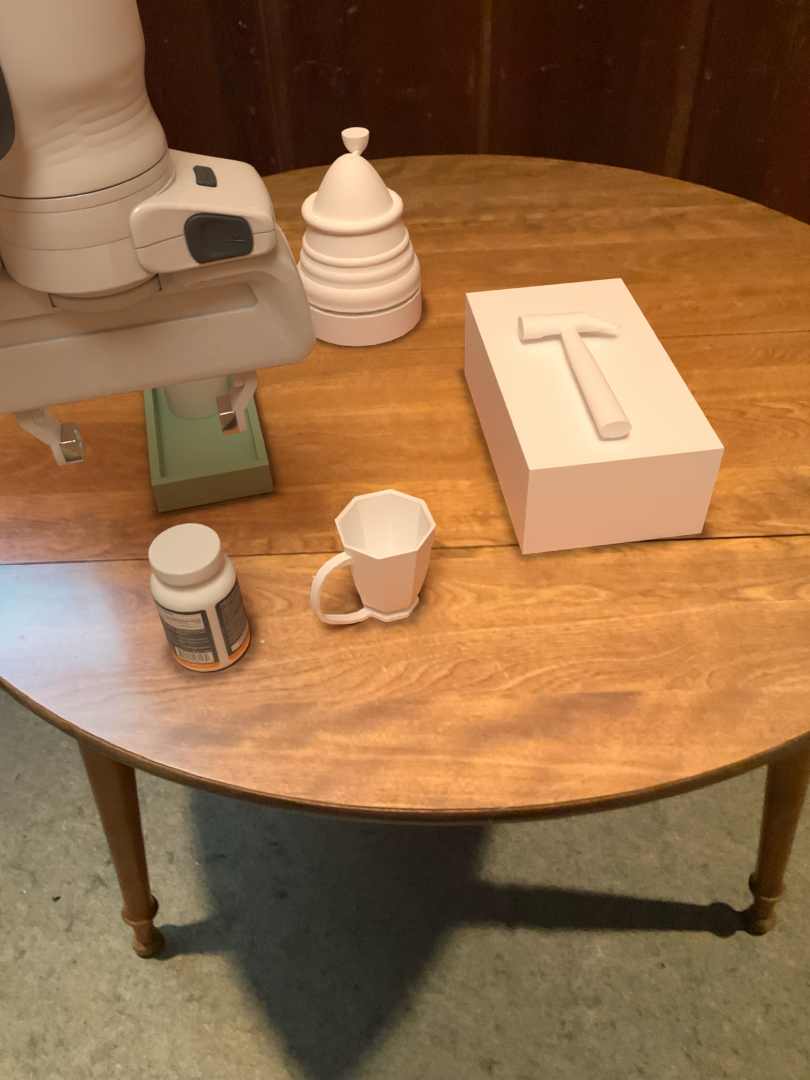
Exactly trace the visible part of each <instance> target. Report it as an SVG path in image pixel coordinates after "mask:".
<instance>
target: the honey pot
mask: <svg viewBox="0 0 810 1080" xmlns="http://www.w3.org/2000/svg"><path fill="white" fill-rule="evenodd" d="M341 139H342V141H343V144H344V147H345V148H346V150H347V151H348V152H349V153H345V154H343V155H341V156H339V157H337V158H336V159H335V160H334V161H333V163H332V164H331V165H330V167H329V168H328V169H327V171H326V173H325V175H324V177H323V179H322V181H321V182H320V185H319V187H318V190H316V191H315V192H313V193H311V194H310V195H308V197H307V198H305V199H304V201H303V203H302V205H301V208H300V211H301V213H300V214H301V217H302V219H303V221H304V222H305V223H306V224H307V226H306V229H305V232H304V233H303V236H302V238H301V249H300V251H299V260H298V262H297V263H296V265H297V268H298V270H299V273H300V276H301V280H302V283H303V286H304V289H305V292H306V296H307V299H308V302H309V306H310V310H311V314H312V318H313V323H314V328H315V333H316V339H318V340H321V341H323V342H325V343H328V344H333V345H337V346H338V345H339V346H347V347H367V346H375V345H379V344H383V343H389V342H391V341H393V340H396V339H398V338H401V337H403V336H404V335H406V334H407V333H409V332H411V331H412V330H413V329H414V328H415V327H416V325H417V324H418V323H419V322H420V320H421V316H422V313H423V312H422V311H423V307H422V282H421V281H422V277H421V272H422V269H421V265H420V260H419V257H418V255H417V254H416V252H415V249H414V246H413V242H412V241H411V237H410V233H409V229H408V228H407V227H406V225H405V224H404V222H403V220H402V217H401V216H402V214H403V211H404V208H405V207H404V203H403V199H402V197H401V196H400V195H399V194H398V193H397V192H396V191H394V190H392V189H390V188H389V187H387V185H386V184H385V182H384V180H383V178H382V177H381V175H380V174H379V173H378V171H377V170H376V169H375V168H374V166H373V165H372V164H371V163H370V162H369V161H368V160H367V159H365V158H364V157H363V156H361V155H362V154H363V152H364V151H365V150H366V148H367V146H368V143H369V139H370V131H369V130H368V129H367V128H365V127H358V126H357V127H356V126H355V127H349V128H346V129H343V130H342V131H341Z"/></svg>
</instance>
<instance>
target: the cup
mask: <svg viewBox="0 0 810 1080" xmlns="http://www.w3.org/2000/svg"><path fill="white" fill-rule="evenodd" d="M334 523H335V526H336V529H337V533H338V536H339V539H340V542H341V546H342V548H343V552H340V553H338V554H336V555H334V556H333V557H332V558H330V559H328V560H327V561H326V562H324V564H323V565H322V566H321V567H319V569H318V571H317V572H316V575H315V577H314V578H313V580H312V581H311V587H310V593H309V607H310V610H311V611H312V613H314V616H316V617H317V618H318V620H320V622H323V623H326V624H329V625H350V624H351V625H352V624H357V623H360V622H364V621H366V620H367V619H369V618H374V619H376V620H379V621H381V622H384V623H389V622H394V621H398V620H399V621H400V620H402V619H407V618H409V617H410V615H411V614H412V613H413V612H414V610H415V608H416V607H417V606H418V604H419V603H420V598H419V596H418V595H419V594H420V592H421V589H422V587H423V585H424V582H425V578H426V576H427V573H428V568H429V563H430V558H431V553H432V548H433V543H434V537H435V533H436V527H437V524H436V522H435V520H434V518H433V515H432V514H431V511H430V508H429V507H428V505H427V503H426V500H425V499H422V498H419V497H416V496H413V495H411V494H407V493H405V492H402V491H399V490H396V489H393V488H388V489H382V490H379V491H374V492H371V493H365V494H361V495H360V494H359V495H355V496H353V498H352V499H350V501H349V502H348V503H347V504H346V506H345V507H344V508H343V509H342V510H341V512H340V513H339V514H338V515H337V517H336V518H335V519H334ZM347 566H348V568H349V571H350V574H351V577H352V579H353V582H354V585H355V588H356V591H357V593H358V595H359V597H360V601H361V603H362V607H363V608H361V609H359V610H358V611H354V612H350V613H345V614H330V613H329V614H328V613H323V612H321V597H322V590H323V588H324V586H325V584H326V583H327V581H328V579H329V578H330V576H331V575H332V574H333V573H334V572H335V571H337V570H340V569H342V568H344V567H347Z"/></svg>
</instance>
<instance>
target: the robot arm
mask: <svg viewBox="0 0 810 1080" xmlns="http://www.w3.org/2000/svg"><path fill="white" fill-rule="evenodd" d="M141 21H142V20H141V18H140V14H139V8H138V4H137V0H0V416H5V415H10V414H13V415H14V417H15V419H16V421H17V424H18V426H19V427H20V428H22V429H23V430H24V431H26V432H27V433H28V434H30V435H32V436H33V437H34V438H35V439H37V440H39V441H40V442H41V443H43V444H44V445H46V446H49V447H50V450H51V453H52V455H53V457H54V460H55V462H56V465H57V466H58V467H62V466H66V465H72V464H78V463H82V462H85V461H86V456H85V453H86V448H85V444H84V443H85V442H84V440H83V437H82V436H81V435H80V428H79V427H78V423H77V421H74V422H66V423H62V422H60V421H59V420H58V419H57V418H55V417H54V416H53V415H52V414H51V413H50V412H48V411H47V410H46V408H50V407H55V406H61V405H67V404H72V403H77V402H83V401H90V400H94V399H101V398H106V397H112V396H117V395H124V394H129V393H136V392H141V391H143V390H147V389H153V388H158V387H164V386H170V385H175V384H181V383H187V382H192V381H198V380H204V379H210V378H215V377H221V376H227V375H232V380H233V385H232V387H231V390H230V392H229V394H228V395H223V396H219V397H216V402H217V407H218V413H219V418H220V422H221V426H222V431H223V435H228V434H234V433H239V432H246V431H248V428H247V423H246V418H245V413H244V409H246V408H247V406H248V404H249V402H250V400H251V398H252V396H253V397H254V394H255V392H256V391H257V390H256V389H257V387H258V385H259V379H258V374H257V371H261V370H265V369H271V368H278V367H283V366H289V365H296V364H301V363H303V362H305V361H306V360H307V359H308V358H309V357H310V355H311V354H312V352H313V351H314V349H315V348H316V346H317V338H316V333H315V328H314V323H313V318H312V314H311V310H310V306H309V302H308V299H307V296H306V292H305V289H304V286H303V283H302V280H301V276H300V273H299V270H298V268H297V262H296V259H295V257H294V254H293V251H292V249H291V247H290V244H289V241H288V239H287V237H286V235H285V233H284V232H283V230H282V229H281V227H280V225H278V223H277V222H276V217H275V210H274V205H273V202H272V198H271V195H270V193H269V190H268V188H267V186H266V184H265V182H264V180H263V179H262V177H261V175H260V174H259V173H258V170H257V169H255V167H254V166H253V165H251V164H249V163H247V162H244V161H239V160H235V159H228V158H223V157H215V156H210V155H205V154H204V155H203V154H197V153H193V152H187V151H184V150H183V151H182V150H177V149H172V148H169V146H168V141H167V138H166V137H167V136H166V133H165V131H164V128H163V126H162V124H161V121H160V120H159V117H158V116H157V114H156V113H155V110H154V108H153V106H152V103H151V101H150V98H149V94H148V91H147V85H146V78H145V61H146V58H145V57H146V41H145V35H144V31H143V25H142V22H141ZM238 427H239V428H238Z"/></svg>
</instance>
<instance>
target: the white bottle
mask: <svg viewBox="0 0 810 1080" xmlns="http://www.w3.org/2000/svg"><path fill="white" fill-rule="evenodd" d="M163 388H164V391H165V395H166V399H167V403H168V407H169V409H170V410H171V412H173V413H174V414H175V415H177V416H179V417H183V418H188V419H200V418H206V417H210V416H213V415H215V414H217V413H218V407H217V402H216V397H219V396H223V395H228V394H229V392H230V390H231V387H230V381H229V376H228V375H227V376H221V377H215V378H210V379H204V380H198V381H192V382H187V383H181V384H175V385H170V386H164V387H163Z"/></svg>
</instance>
